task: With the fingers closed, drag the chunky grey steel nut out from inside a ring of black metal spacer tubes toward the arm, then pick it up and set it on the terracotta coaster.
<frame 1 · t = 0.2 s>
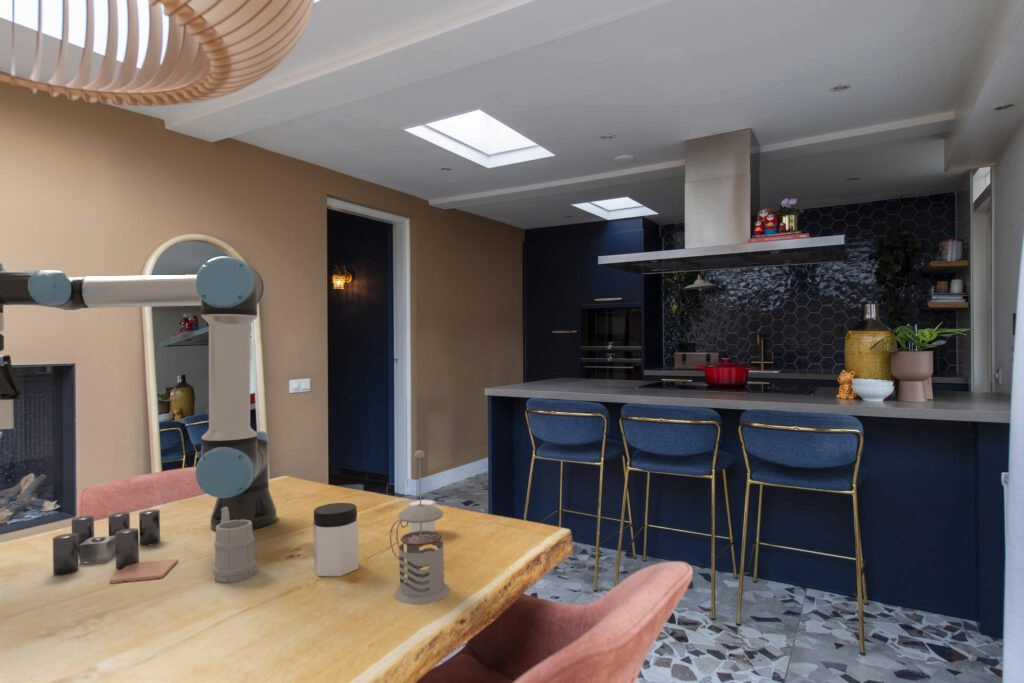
spacer 2: (66, 571, 118), on the table
french press: (418, 592, 104), on the table
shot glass: (422, 533, 137), on the table
nut: (98, 558, 125), on the table
jar: (336, 570, 116), on the table
coaster: (145, 572, 116), on the table
spacer 4: (127, 565, 120), on the table
spacer 3: (119, 545, 133), on the table
spacer 5: (150, 542, 135), on the table
mug: (231, 573, 115), on the table
spacer 1: (83, 549, 131), on the table
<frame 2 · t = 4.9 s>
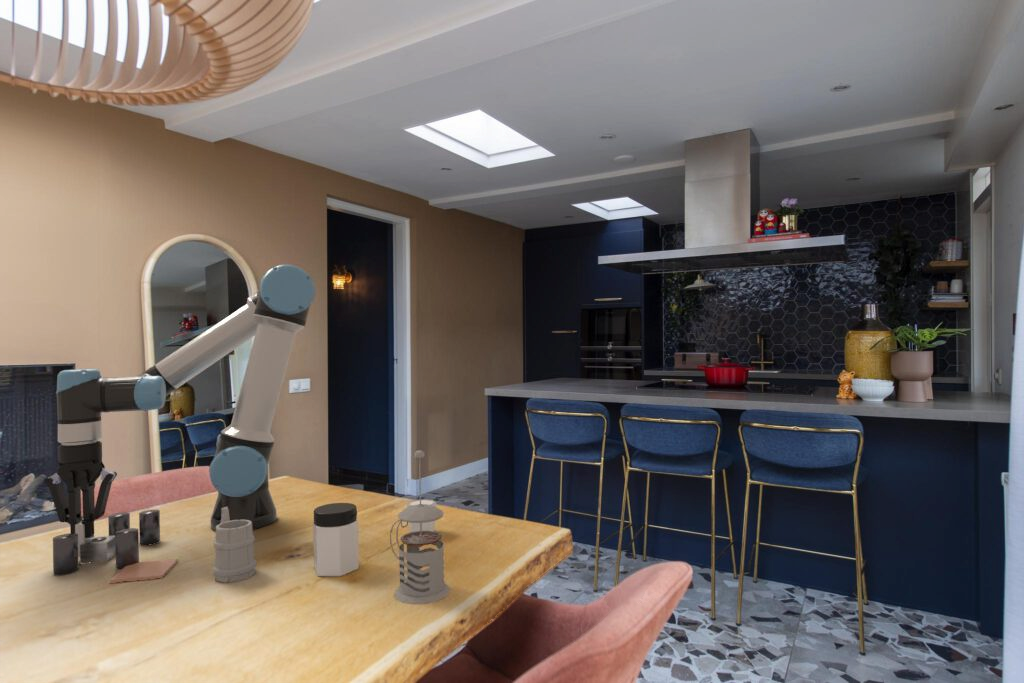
hand: (83, 553, 125), 1 cm above the table, tool pointing down, fingers closed
nut: (99, 558, 125), on the table, touching gripper
everything else where it was.
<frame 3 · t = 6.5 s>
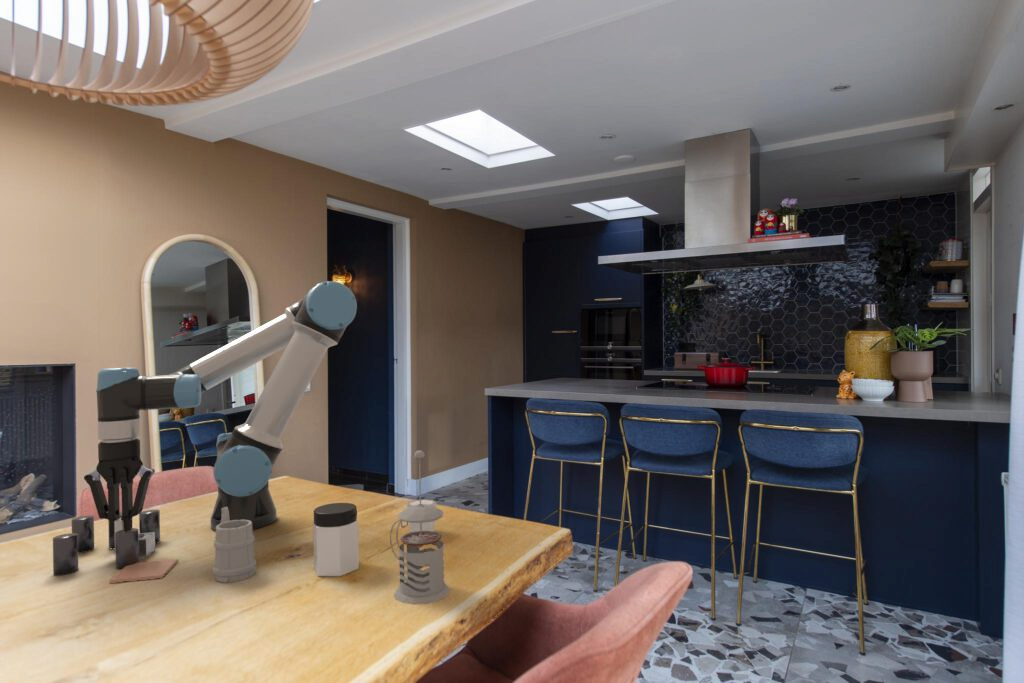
hand: (121, 549, 126), 1 cm above the table, tool pointing down, fingers closed
nut: (138, 555, 127), on the table
everything else where it was.
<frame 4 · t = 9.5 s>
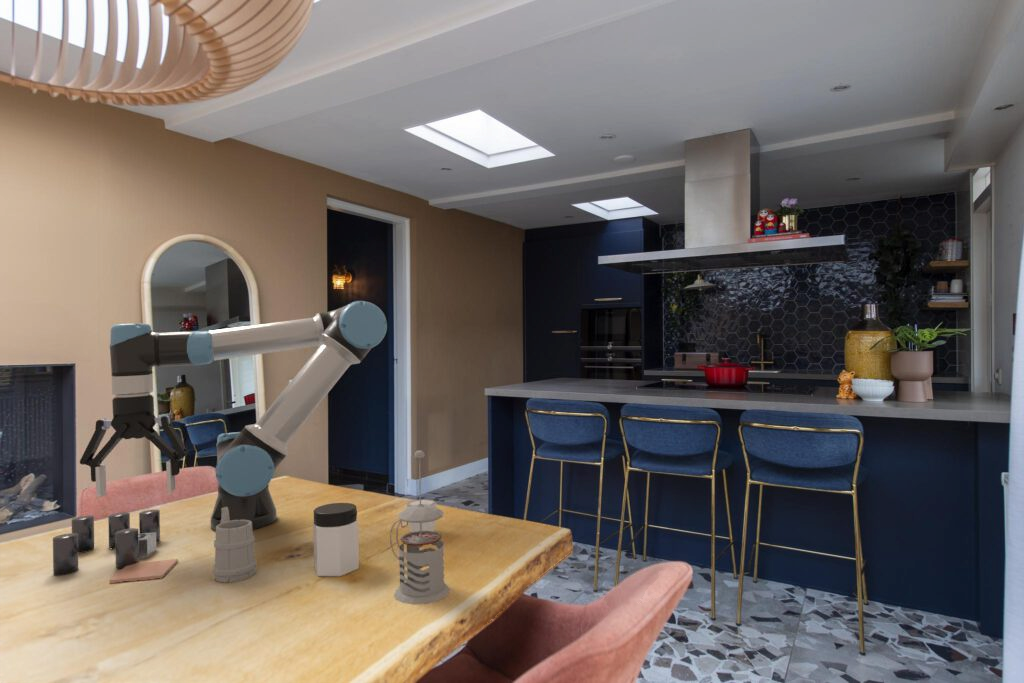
hand: (136, 493, 127), 13 cm above the table, tool pointing down, fingers open, 13 cm apart
nothing on the table moved.
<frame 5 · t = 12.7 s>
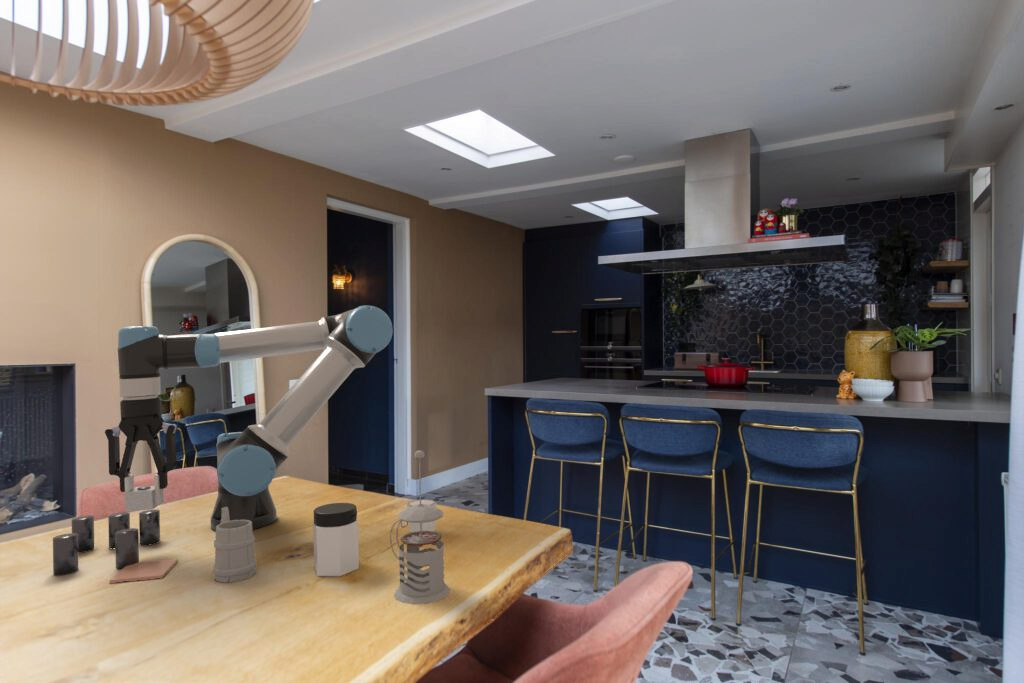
hand: (144, 504, 127), 11 cm above the table, tool pointing down, fingers closed on nut, 5 cm apart
nut: (144, 507, 127), point 10 cm above the table, touching gripper
everything else where it was.
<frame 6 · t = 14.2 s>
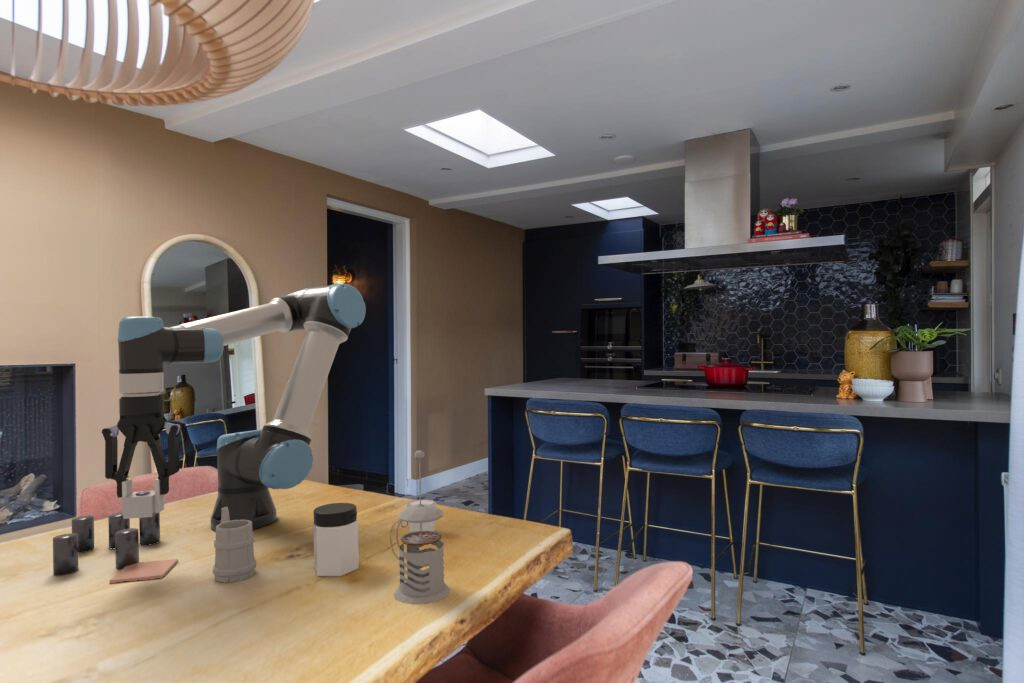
hand: (143, 512, 116), 12 cm above the table, tool pointing down, fingers closed on nut, 5 cm apart
nut: (143, 514, 116), point 12 cm above the table, touching gripper
everything else where it was.
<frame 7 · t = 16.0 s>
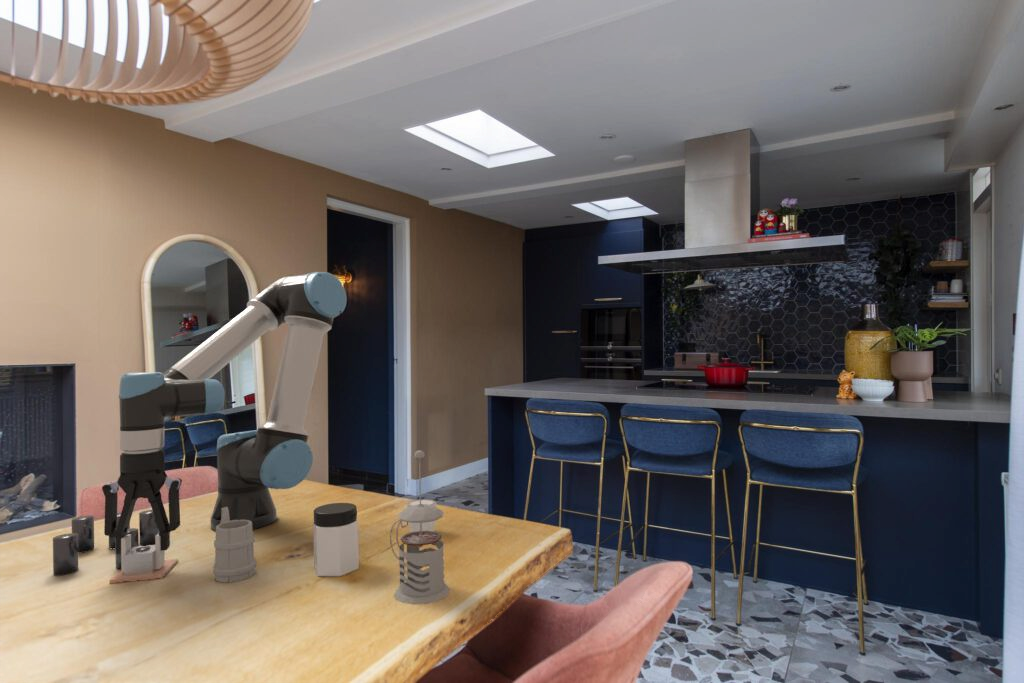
hand: (143, 567, 116), 1 cm above the table, tool pointing down, fingers closed on nut, 5 cm apart
nut: (143, 569, 116), point 1 cm above the table, touching coaster, gripper
everything else where it was.
when the fingers open (1 cm above the table, at t = 16.0 s): nut stays where it is, resting on coaster.
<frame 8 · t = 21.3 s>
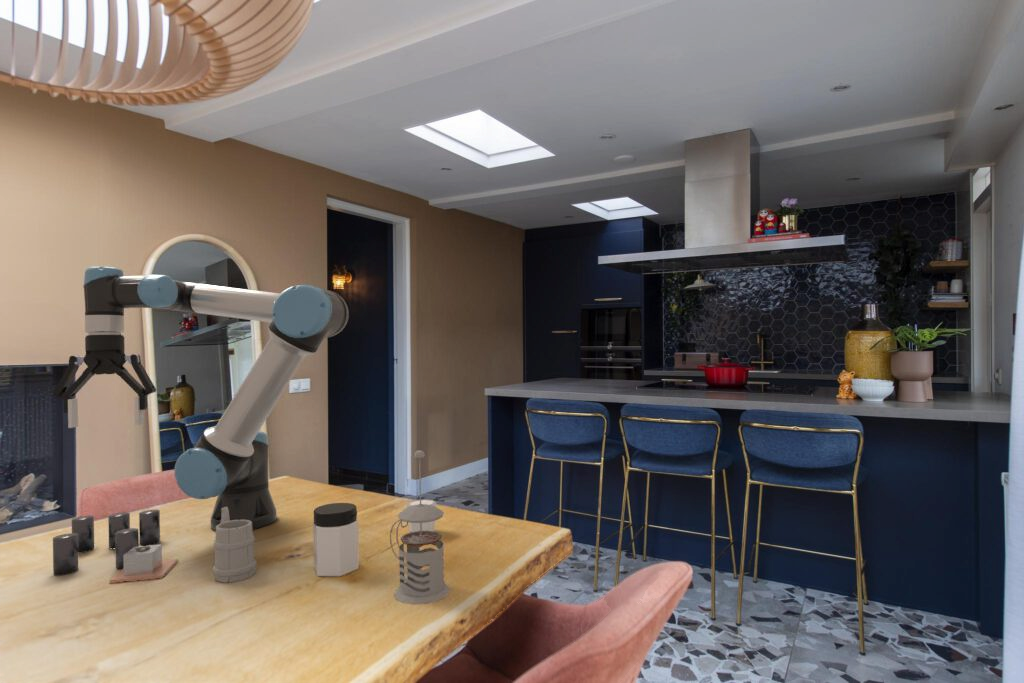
hand: (106, 425, 136), 27 cm above the table, tool pointing down, fingers open, 13 cm apart
nut: (143, 569, 116), point 1 cm above the table, touching coaster
everything else where it was.
at the end: nut inside the target area on the coaster (0.4 cm from its centre), point 0.6 cm above the coaster's base; nut tilted 0°; the gripper is holding nothing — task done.
